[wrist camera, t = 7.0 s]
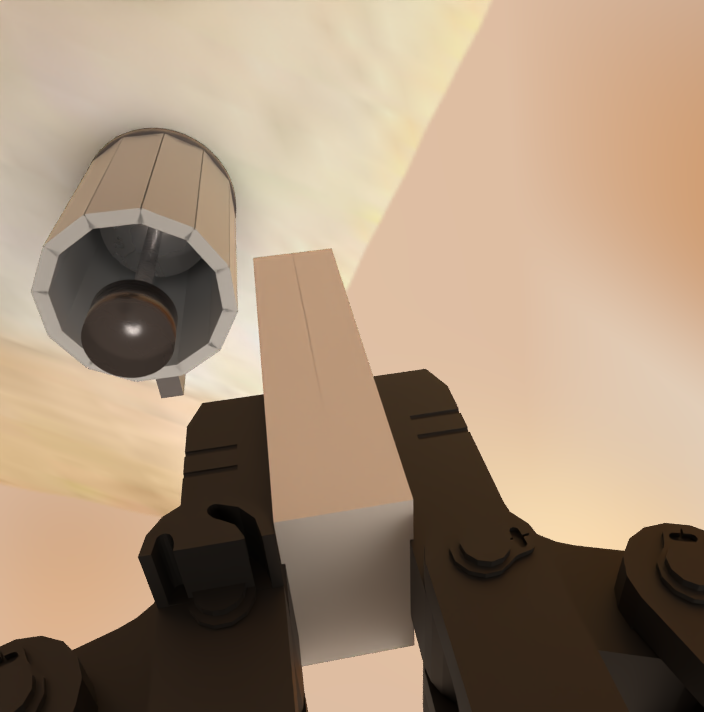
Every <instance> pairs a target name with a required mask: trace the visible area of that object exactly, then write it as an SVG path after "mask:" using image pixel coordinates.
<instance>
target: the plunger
mask: <svg viewBox="0 0 704 712" xmlns="http://www.w3.org/2000/svg"><path fill="white" fill-rule="evenodd" d="M100 232H101V236H102V238H103V241H104V243H105V245H106V247H107V249H108V250H109V252H110V253H111V254H112V255H113V256H114V258H115V259H116V260H118V261H119V262H120V263H121V264H122V265H124V266H125V267H127V268H128V269H130V270H132V271H134V272H136V274H135V278H134V280H132V279H128V280H120V281H116V282H112V283H110V284H108V285H106V286H105V287H103V288H102V289H101V290H100V291H99V292H98V293H97V294H96V295H95V297H94V298H93V300H92V303H91V305H90V308H89V311H88V313H87V316H86V319H85V322H84V324H83V327H82V331H81V343H82V347H83V349H84V352H85V353H86V355H87V357H88V358H89V359H90V360H91V361H92V362H93V363H94V364H95V365H96V366H97V367H99V368H100V369H102V370H103V371H105V372H107V373H109V374H112V375H115V376H119V377H125V378H139V377H145V376H148V375H151V374H153V373H156V372H157V371H159V370H160V369H162V368H163V367H164V366H165V365H166V364H167V363H168V362H169V360H170V359H171V357H172V355H173V352H174V347H175V339H176V332H177V324H178V315H177V310H176V307H175V305H174V303H173V301H172V300H171V298H170V297H169V296H168V295H167V294H166V293H165V292H164V291H163V290H161V289H160V288H158V287H157V286H155V285H153V284H152V281H153V277H169V276H174V275H177V274H180V273H183V272H185V271H187V270H188V269H190V268H192V267H193V266H194V265H195V264H196V263H197V262H198V261H199V260H200V259H201V258H202V257H201V256H200V255H199V254H198V253H197V252H196V251H195V249H194V248H193V247H192V246H191V245H190V244H189V243H188V242H187V241H186V240H185V239H182V238H179V237H176V236H174V235H171V234H168V233H165V232H163V231H160V230H157V229H155V228H152V227H149V226H146V225H144V224H141V223H139V224H130V225H121V226H113V227H104V228H100Z"/></svg>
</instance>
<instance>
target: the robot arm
mask: <svg viewBox="0 0 704 712" xmlns="http://www.w3.org/2000/svg"><path fill="white" fill-rule="evenodd" d="M253 262H254V275H255V288H256V301H257V314H258V327H259V340H260V353H261V366H262V379H263V392H264V394H263V395H256V396H249V397H242V398H235V399H228V400H221V401H214V402H207V403H202V405H201V406H200V408H199V409H198V411H197V412H196V414H195V416H194V417H193V419H192V420H191V422H190V423H189V425H188V426H187V435H186V447H185V454H186V457H185V459H184V471H183V474H184V478H183V483H182V495H181V506H179V507H178V508H176V509H174V510H173V511H171V512H170V513H168V514H166V515H165V516H163V517H162V518H161V519H160V520H159V521H158V523H157V524H156V525H155V526H154V527H153V528H152V530H151V531H150V532H149V533H148V534H147V535H146V537H145V540H144V543H143V545H142V548H141V551H140V553H139V556H138V558H139V561H140V563H141V566H142V568H143V571H144V574H145V576H146V579H147V582H148V584H149V587H150V590H151V592H152V595H153V598H154V600H155V602H154V604H153V605H151V606H150V607H149V608H148V609H147V610H146V611H144V612H143V613H142V614H141V615H140V616H138V617H137V618H136V619H134V620H132V621H131V622H129V623H127V624H126V625H124V626H122V627H120V628H119V629H116V630H114V631H112V632H110V633H108V634H106V635H104V636H102V637H100V638H97V639H95V640H93V641H91V642H89V643H87V644H85V645H83V646H80V647H78V648H76V649H74V650H71V649H70V648H69V647H68V646H67V645H66V644H65V643H64V642H63V641H59V640H55V639H52V638H48V637H44V636H37V637H30V638H24V639H16V640H14V641H11V642H9V643H7V644H5V645H3V646H0V712H308V710H307V704H306V698H305V693H304V685H303V674H302V666H306V665H312V664H317V663H323V662H328V661H333V660H338V659H344V658H349V657H355V656H360V655H365V654H370V653H376V652H381V651H386V650H392V649H397V648H402V647H408V646H413V645H414V629H415V633H416V637H417V641H418V644H419V648H420V652H421V656H422V659H423V712H704V530H701V529H698V528H696V527H693V526H690V525H680V524H669V523H663V524H658V525H654V526H649V527H645V528H643V529H642V530H640V531H639V532H638V533H636V534H635V535H634V536H632V537H631V538H630V539H629V541H628V544H627V546H626V549H625V551H620V550H611V549H602V548H593V547H583V546H575V545H570V544H565V543H560V542H555V541H553V540H550V539H548V538H545V537H543V536H540V535H538V534H536V532H535V531H534V530H533V529H532V527H531V526H530V525H529V524H528V523H527V522H525V521H523V520H522V519H520V518H519V517H517V516H516V515H514V514H513V513H511V512H509V510H508V508H507V507H506V505H505V504H504V502H503V500H502V498H501V496H500V494H499V492H498V490H497V487H496V485H495V483H494V481H493V479H492V477H491V475H490V473H489V471H488V469H487V467H486V465H485V463H484V461H483V459H482V456H481V454H480V452H479V450H478V448H477V446H476V444H475V442H474V440H473V438H472V436H471V434H470V432H468V429H467V425H466V423H465V421H464V419H463V417H462V415H461V413H459V411H458V407H457V404H456V402H455V400H454V398H453V396H452V394H451V392H450V390H449V388H448V386H447V385H445V384H444V383H443V382H442V381H440V380H439V379H438V378H437V377H435V376H434V375H433V374H432V373H430V372H429V371H428V370H426V369H422V370H415V371H408V372H401V373H394V374H387V375H380V376H374V377H373V374H372V371H371V368H370V365H369V362H368V359H367V356H366V353H365V350H364V347H363V344H362V341H361V338H360V335H359V332H358V328H357V325H356V322H355V320H354V316H353V313H352V310H351V307H350V304H349V301H348V298H347V295H346V291H345V288H344V285H343V282H342V279H341V276H340V273H339V270H338V267H337V264H336V261H335V258H334V255H333V252H332V248H331V249H323V250H315V251H307V252H299V253H291V254H282V255H274V256H266V257H258V258H253Z"/></svg>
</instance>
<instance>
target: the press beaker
mask: <svg viewBox="0 0 704 712" xmlns="http://www.w3.org/2000/svg"><path fill="white" fill-rule="evenodd" d="M235 218H236V200H235V193H234V188H233V185H232V182H231V179H230V177H229V175H228V173H227V171H226V169H225V168H224V166H223V165H222V163H221V162H220V161H219V159H218V158H217V157H216V156H215V155H214V154H213V153H212V152H211V151H210V150H209V149H208V148H206V147H205V146H204V145H203V144H201V143H200V142H198V141H197V140H195V139H193V138H191V137H189V136H187V135H185V134H182V133H179V132H176V131H172V130H167V129H160V128H144V129H138V130H133V131H130V132H127V133H124V134H122V135H120V136H118V137H116V138H114V139H113V140H111V141H110V142H109V143H107V144H106V145H105V146H104V147H103V148H102V149H101V150H100V151H99V152H98V154H97V155H96V156H95V158H94V159H93V161H92V163H91V165H90V166H89V168H88V170H87V172H86V174H85V176H84V177H83V179H82V181H81V182H80V184H79V186H78V187H77V189H76V191H75V193H74V194H73V196H72V198H71V199H70V201H69V203H68V205H67V206H66V208H65V210H64V211H63V213H62V215H61V216H60V218H59V220H58V222H57V223H56V225H55V227H54V228H53V230H52V232H51V234H50V235H49V237H48V239H47V240H46V242H45V244H44V246H43V248H42V252H41V255H40V259H39V263H38V267H37V270H36V274H35V278H34V281H33V285H32V289H31V293H32V296H33V298H34V301H35V304H36V306H37V309H38V311H39V314H40V316H41V319H42V322H43V324H44V327H45V329H46V332H47V335H49V337H50V338H51V339H52V340H53V341H55V342H56V343H57V344H58V345H59V346H61V347H62V348H63V349H64V350H65V351H67V352H68V353H69V354H70V355H71V356H73V357H74V358H75V359H76V360H77V361H79V362H80V363H81V364H82V365H84V366H85V367H86V368H87V367H88V369H91V370H95V371H98V372H102V373H106V374H109V373H107V372H105V371H103V370H102V369H100V368H99V367H97V366H96V365H95V364H94V363H93V362H92V361H91V360H90V359H89V358H88V357H87V355H86V353H85V352H84V349H83V347H82V343H81V331H82V327H83V324H84V322H85V319H86V316H87V313H88V311H89V308H90V305H91V303H92V300H93V298H94V297H95V295H96V294H97V293H98V292H99V291H100V290H101V289H102V288H103V287H105V286H106V285H108V284H110V283H112V282H116V281H120V280H128V279H132V280H134V278H135V274H136V272H134V271H132V270H130V269H128V268H127V267H125V266H124V265H122V264H121V263H120V262H119V261H118V260H116V259H115V258H114V256H113V255H112V254H111V253H110V252H109V250H108V249H107V247H106V245H105V243H104V241H103V238H102V236H101V232H100V228H104V227H113V226H121V225H130V224H139V223H141V224H144V225H146V226H149V227H152V228H155V229H157V230H160V231H163V232H165V233H168V234H171V235H174V236H176V237H179V238H182V239H185V240H186V241H187V242H188V243H189V244H190V245H191V246H192V247H193V248H194V249H195V251H196V252H197V253H198V254H199V255H200V256H201V257H202V258H201V259H200V260H199V261H198V262H197V263H196V264H195V265H194V266H193V267H192V268H190V269H188V270H187V271H185V272H183V273H180V274H177V275H174V276H169V277H153V281H152V284H153V285H155V286H157V287H158V288H160V289H161V290H163V291H164V292H165V293H166V294H167V295H168V296H169V297H170V298H171V300H172V301H173V303H174V305H175V307H176V310H177V315H178V324H177V332H176V339H175V347H174V352H173V355H172V357H171V359H170V360H169V362H168V363H167V364H166V365H165V366H164V367H163V368H162V369H160V370H159V371H157V372H156V373H153V374H151V375H148V376H145V377H139V378H125V377H120V378H124V379H127V380H131V381H137V382H139V381H146V380H153V379H156V381H157V385H158V388H159V392H160V395H161V398H167V397H174V396H181V395H184V385H185V375H186V373H188V372H189V371H191V370H192V369H194V368H195V367H197V366H198V365H200V364H201V363H202V362H204V361H205V360H207V359H208V358H210V357H211V356H213V355H214V354H216V353H217V352H219V351H220V349H221V348H222V346H223V344H224V341H225V339H226V337H227V335H228V332H229V330H230V328H231V326H232V323H233V321H234V319H235V317H236V314H237V312H238V301H237V262H236V223H235ZM109 375H112V374H109ZM113 376H115V375H113ZM116 377H119V376H116Z"/></svg>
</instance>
